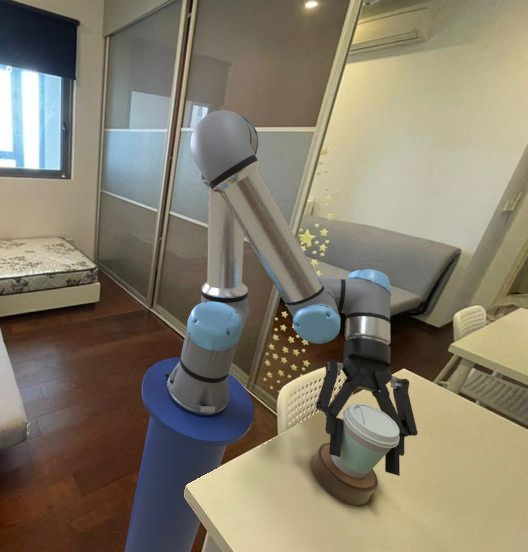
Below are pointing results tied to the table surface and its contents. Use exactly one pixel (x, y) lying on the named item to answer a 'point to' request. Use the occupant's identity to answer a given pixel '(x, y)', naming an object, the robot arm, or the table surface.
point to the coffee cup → (365, 439)
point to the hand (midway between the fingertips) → (362, 464)
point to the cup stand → (342, 479)
